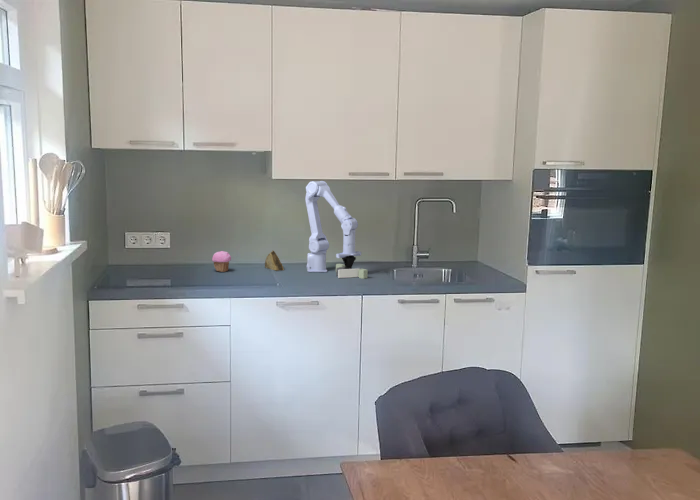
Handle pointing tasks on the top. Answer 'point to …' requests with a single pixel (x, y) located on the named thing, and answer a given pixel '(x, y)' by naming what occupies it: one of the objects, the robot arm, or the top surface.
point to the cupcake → (221, 261)
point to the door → (348, 273)
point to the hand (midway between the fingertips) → (348, 271)
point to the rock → (273, 262)
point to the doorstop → (340, 269)
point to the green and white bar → (362, 272)
